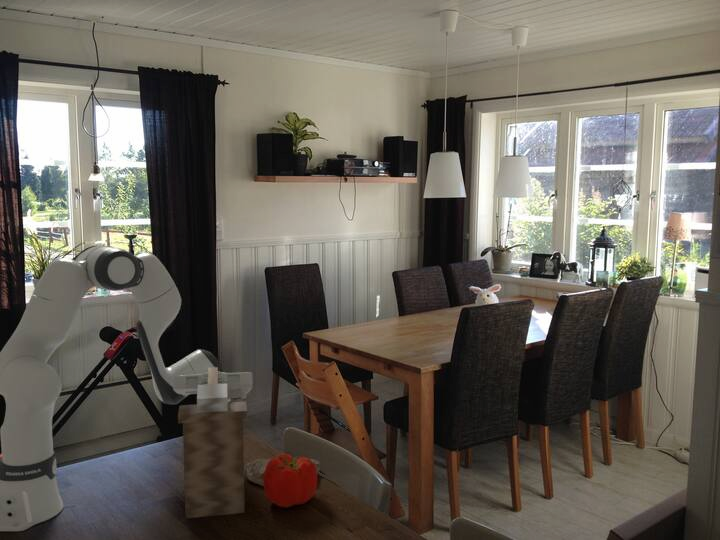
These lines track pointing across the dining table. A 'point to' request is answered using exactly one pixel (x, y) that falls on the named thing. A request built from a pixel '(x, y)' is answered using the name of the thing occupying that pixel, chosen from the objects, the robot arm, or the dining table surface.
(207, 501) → the walnut stand
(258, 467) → the clay tablet
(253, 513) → the dining table surface
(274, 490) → the tomato
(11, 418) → the robot arm
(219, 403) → the mallet
